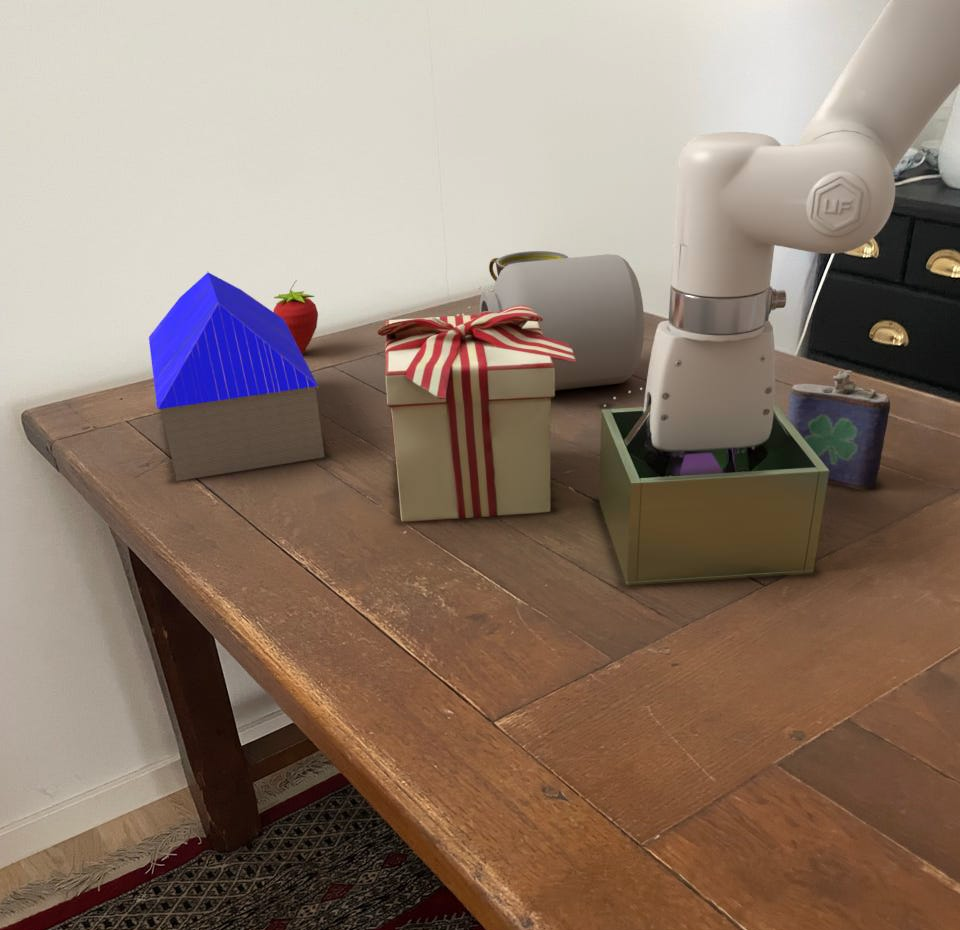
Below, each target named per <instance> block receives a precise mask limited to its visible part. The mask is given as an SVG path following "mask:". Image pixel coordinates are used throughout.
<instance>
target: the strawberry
mask: <svg viewBox="0 0 960 930" xmlns="http://www.w3.org/2000/svg"><path fill="white" fill-rule="evenodd" d="M297 281H298V280H297V279H295V281H294V283H292V286H291V288H290V289H289V291H288V293H281V294H278V295H276V296H274V297H273V299H281V300H280V301H278V302H276V305H275V306H274V307H273V312H274V313H275V314H277V315H278V316H280V317H281V318H282V319H284V321H285V323H286V324H287V326H288V328H289V330H290V332H291V334H292V336H293V338H294V340H295V342H296V344H297V346H298V348H299V350H300V352H301V354H302V356H303V355H304V354H305V352H306V350H307V348H308V346H309V344H310V343H311V342H312V339H313V337H314V334H315V332H316V330H317V327H318V318H319V311H318V309H317V305H316V304H315V303H314V301H313V300H312V299H311V298H315V295H313V294H308V293H305V291H303V290H302V291H294V290H292V289H293V287H294V285H295V284H296V283H297Z"/></svg>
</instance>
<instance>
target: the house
mask: <svg viewBox="0 0 960 930" xmlns="http://www.w3.org/2000/svg"><path fill="white" fill-rule="evenodd" d="M148 341H149V343H148V344H149V352H150V359H151V368H152V376H153V385H154V393H155V401H156V411H157V413H161V418H162V422H163V426H164V430H165V435H166V439H167V444H168V448H169V453H170V457H171V462H172V466H173V470H174V475H175V479H176V482H180V481H186V480H193V479H197V478H204V477H211V476H216V475H217V476H218V475H223V474H228V473H236V472H241V471H242V472H243V471H247V470H253V469H254V470H255V469H259V468H266V467H267V468H268V467H272V466H279V465H286V464H292V463H297V462H302V461H303V462H304V461H309V460H315V459H316V460H317V459H321V458H325V456H326V455H325V449H324V440H323V434H322V426H321V419H320V413H319V412H320V411H319V405H318V397H317V390H319V385H318V382H317V381H316V378H315V377H314V375H313V373H312V371H311V369H310V367H309V365H308V363H307V361H306V359H305V357H304V356H303V355H302V354H301V352H300V350H299V348H298V346H297V344H296V342H295V340H294V338H293V336H292V334H291V332H290V330H289V328H288V326H287V324H286V323H285V321H284V319H282V318H281V317H280V316H278V315H277V314H275V313H274V311H272V310H271V309H270V308H268V307H267V306H265V305H264V304H262V303H261V302H260V301H258V300H257V299H255V298H254V297H252V296H251V295H249V294H248V293H246V292H245V291H244V290H242V289H241V288H239V287H237V286H235V285H233V284H232V283H229V282H227V281H226V280H224V279H222V278H220V277H218V276H216V275H214V274H212V273H210V272H209V271H207V272H206V273H205V274H204V275H203V276H202V277H200V278H199V280H197V281H196V282H195V283H194V284H193V285H192V286H191V287H189V288H188V289H187V290H186V291H185V292H184V293H183V294H182V295H181V296H179V298H178V299H177V300H176V301H175V303H174V304H173V305H172V307H171V308H170V310H168V312H167V313H166V314H165V316H164V317H163V318H162V320H160V322H159V323H158V324H157V326H156V327H155V328H154V330H153V331H152V332H151V334H150V335H149V336H148ZM316 389H317V390H316Z"/></svg>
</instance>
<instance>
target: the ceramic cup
mask: <svg viewBox="0 0 960 930" xmlns="http://www.w3.org/2000/svg"><path fill="white" fill-rule="evenodd" d="M563 258H571V257H570V256H569V255H567V254H564V253H561V252H555V251H547V250H529V251H519V252H512V253H508V254H505V255H502V256H500V257H494V258H492V259H491V260H490V261H489V265H488V271H489V274H490V276H491V278H492V279H493V281H494V282H496V280H497V278H498V276H499V274H500V272H501V270H503V269H504V268H505V267H506V266H507V265H509V264H513V263H519V262H530V261H541V260H552V259H563ZM494 265H495V267H496V273H497V275H496V273H495V271H494Z"/></svg>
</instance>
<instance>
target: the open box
mask: <svg viewBox="0 0 960 930" xmlns="http://www.w3.org/2000/svg"><path fill="white" fill-rule="evenodd" d="M643 411H644V406H637V407H624V408H623V407H622V408H604V409H601V410H600V412H601V413H600V447H599V448H600V451H599V492H598V495H599V496H598V497H599V498H598V503H599V506H600V510H601V512H602V515H603V517H604V522H605V524H606V527H607V530H608V533H609V536H610V539H611V542H612V546H613V548H614V551H615V554H616V557H617V560H618V563H619V566H620V569H621V572H622V575H623V578H624V582H625V584H626V586H638V585H640V586H641V585H654V584H656V585H657V584H670V583H685V582H686V583H687V582H700V581H701V582H702V581H715V580H718V581H719V580H732V579H745V578H748V579H749V578H761V577H764V578H765V577H777V576H778V577H779V576H793V575H809V574H811V575H812V574H814V569H815V564H816V558H817V552H818V545H819V538H820V531H821V525H822V521H823V520H822V519H823V513H824V507H825V501H826V495H827V489H828V483H829V482H828V476H829V470H828V468H827V467H826V466H825V465H824V463H823V462H822V461H821V460H820V458H819V457H818V456H817V455H816V453H815V452H814V451H813V450H812V448H811V447H810V446H809V445H808V443H807V442H806V441H805V440H804V438H803V437H802V436H801V435H800V433H799V432H798V431H797V430H796V428H795V427H794V426H793V425H792V424H791V422H790V421H789V420H788V419H787V417H788V416H787V415H785V413H784V412H783V411H782V410H781V409H780V406H778V405H777V403H776V402H775V401H774V412H775V413H776V415H777V417H778V418H779V420H780V422H781V423H782V425H783V427H784V429H785V430H786V432H787V434H788V435H789V438H790V439H789V442H788V443H787V444H785V445H784V446H782V447H781V448H779V449H778V450H776V451H774V452H773V453H770V454H768V455H767V457H766V458H765V459H764V460H763V461H762V462H761V463H760V464H759V465H757V466H756V467H755V468H754V469H753V470H752V471H750V472H734V473H718V474H702V475H686V476H670V477H660V476H659V475H658V474H657V473H656V472H655V471H653V470H652V469H651V468H650V467H649V466H648V465H647V464H646V463H645V462H643V461H640V460H639V459H637V458H635V457H633V456H632V455H630V454H629V453H628V450H627V448H626V446H625V443H624V440H625V438H626V437H627V435H628V434H629V433H630V431H631V430H632V428H633V427H634V426H635V424H636V423H637V421H638V420H639V419H640V417H641V416H642V414H643ZM646 444H648V445H649V446H651V447H654V446H653V444H652V437H651V435H650V436H649V438H648V439H647V441H646ZM654 448H655V447H654ZM655 449H656V448H655ZM657 450H658V451H659V452H660V453H661V452H662V451H661V450H659V449H657ZM700 453H712V454H713V456H714V458H715V459H716V461H717V463H718V464H719V466H720V468H721V469H722V470H723V467H726V465H727V464H728V461H727V451H726V449H719V450H702V451H686V453H685V454H700Z"/></svg>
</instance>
